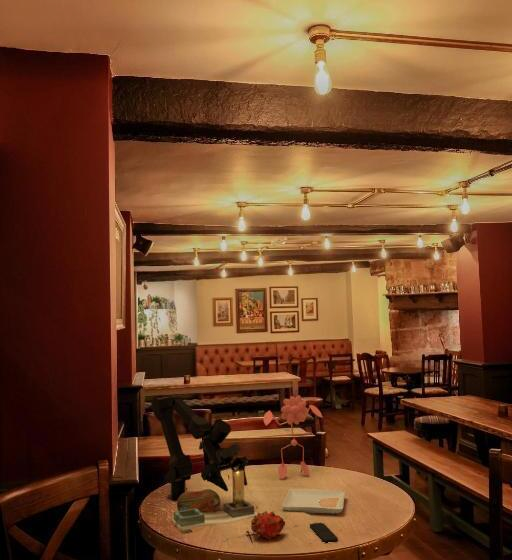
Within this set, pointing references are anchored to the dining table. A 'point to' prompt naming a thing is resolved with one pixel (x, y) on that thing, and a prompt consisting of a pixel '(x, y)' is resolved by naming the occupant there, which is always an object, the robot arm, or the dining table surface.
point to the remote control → (323, 532)
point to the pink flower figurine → (295, 414)
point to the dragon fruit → (267, 525)
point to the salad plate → (312, 500)
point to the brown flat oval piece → (199, 500)
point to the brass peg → (238, 488)
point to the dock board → (211, 516)
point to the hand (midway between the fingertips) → (237, 487)
